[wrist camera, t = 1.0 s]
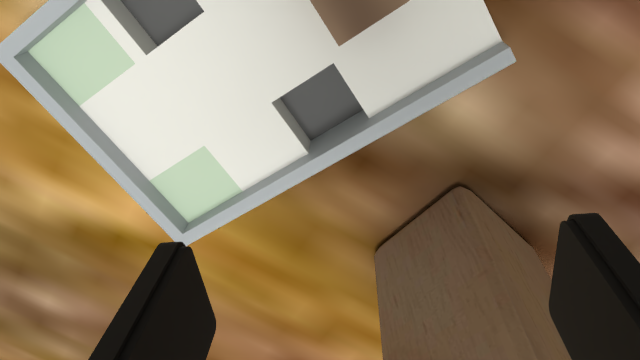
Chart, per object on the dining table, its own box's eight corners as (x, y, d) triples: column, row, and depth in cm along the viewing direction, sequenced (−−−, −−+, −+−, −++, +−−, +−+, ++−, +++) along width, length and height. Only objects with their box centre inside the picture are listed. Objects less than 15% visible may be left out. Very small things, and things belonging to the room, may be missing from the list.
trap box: (359, -249, 24) (361, -279, 20) (497, 45, 31) (516, 61, 27) (29, 38, 32) (-10, 52, 29) (196, 219, 39) (181, 248, 36)
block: (368, 249, 40) (386, 504, 22) (459, 176, 36) (567, 416, 18) (444, 309, 43) (513, 575, 25) (536, 247, 39) (691, 512, 21)
